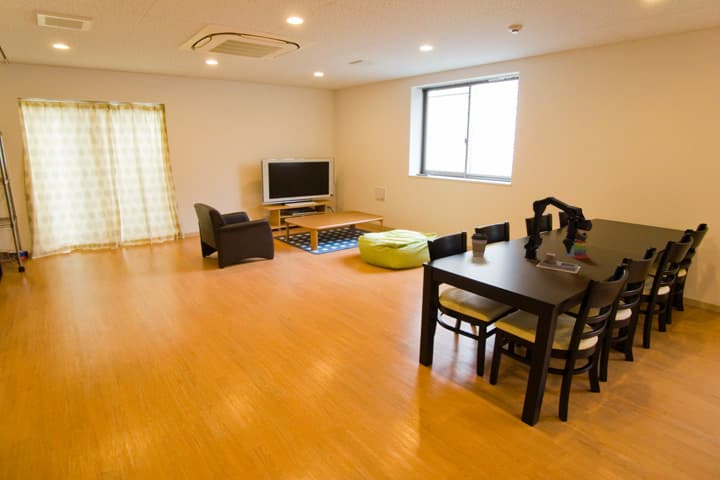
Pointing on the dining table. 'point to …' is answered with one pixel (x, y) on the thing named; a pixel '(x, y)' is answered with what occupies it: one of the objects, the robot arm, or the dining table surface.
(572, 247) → the teal cylinder
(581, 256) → the stacking bear
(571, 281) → the dining table surface
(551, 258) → the walnut block
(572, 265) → the tray
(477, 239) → the coffee cup
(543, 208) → the robot arm
